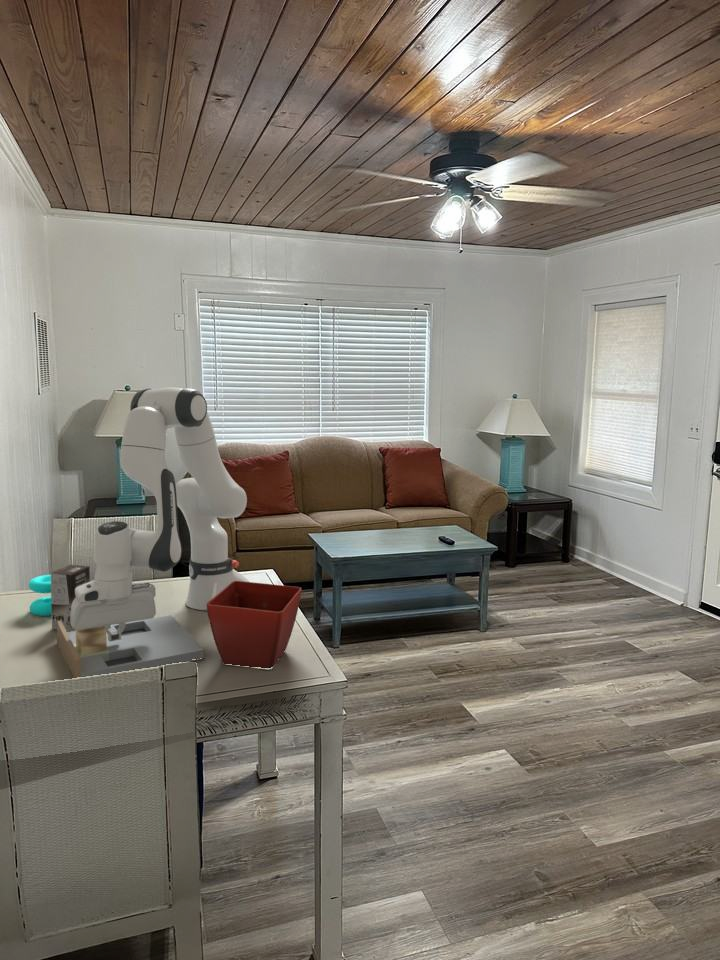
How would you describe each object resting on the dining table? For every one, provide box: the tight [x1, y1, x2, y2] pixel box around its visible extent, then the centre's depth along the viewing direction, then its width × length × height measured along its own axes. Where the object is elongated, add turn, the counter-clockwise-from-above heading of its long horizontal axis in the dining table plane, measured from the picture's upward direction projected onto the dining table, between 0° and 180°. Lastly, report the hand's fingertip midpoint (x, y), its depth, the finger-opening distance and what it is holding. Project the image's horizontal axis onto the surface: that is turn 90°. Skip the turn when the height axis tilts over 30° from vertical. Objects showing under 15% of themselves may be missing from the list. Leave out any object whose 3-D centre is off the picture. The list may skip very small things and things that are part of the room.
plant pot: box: [206, 581, 302, 668], centre depth 168 cm, size 19×19×17 cm
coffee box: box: [50, 564, 91, 632], centre depth 185 cm, size 9×6×16 cm
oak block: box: [75, 626, 107, 655], centre depth 165 cm, size 6×6×5 cm
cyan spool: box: [28, 574, 52, 617], centre depth 195 cm, size 10×10×10 cm
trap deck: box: [56, 614, 205, 679], centre depth 170 cm, size 30×27×6 cm
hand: (114, 639), depth 168 cm, fingers closed
